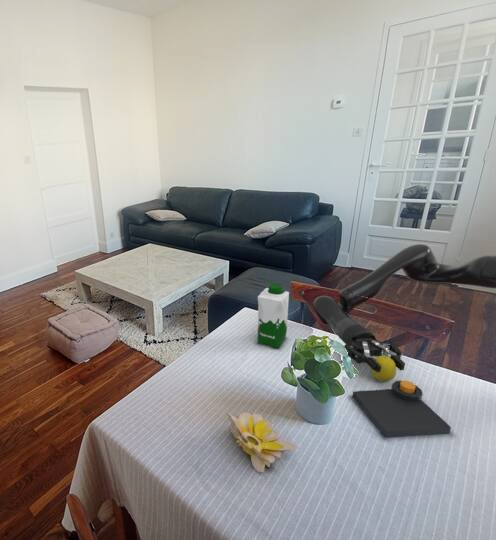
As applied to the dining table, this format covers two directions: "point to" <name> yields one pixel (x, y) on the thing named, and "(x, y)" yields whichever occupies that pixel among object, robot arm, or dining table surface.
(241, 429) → the decorative flower
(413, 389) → the tare button
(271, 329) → the milk carton
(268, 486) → the dining table surface
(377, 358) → the lemon
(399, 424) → the scale
